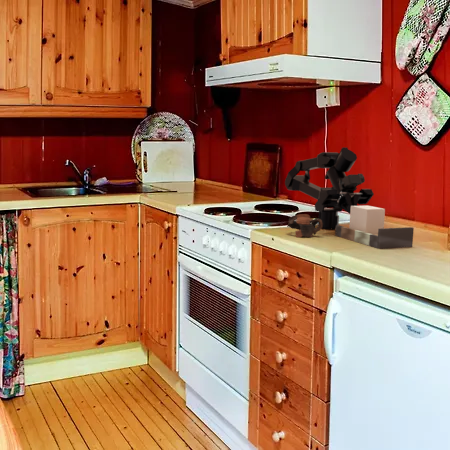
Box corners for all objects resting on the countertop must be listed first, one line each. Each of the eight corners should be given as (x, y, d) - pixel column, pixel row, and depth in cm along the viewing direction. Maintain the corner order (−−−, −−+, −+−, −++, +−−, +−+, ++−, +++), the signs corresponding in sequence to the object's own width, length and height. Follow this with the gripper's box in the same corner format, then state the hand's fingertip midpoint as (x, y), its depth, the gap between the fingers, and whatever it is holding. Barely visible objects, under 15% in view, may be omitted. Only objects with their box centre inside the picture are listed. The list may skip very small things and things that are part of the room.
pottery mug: (287, 238, 205) (283, 215, 208) (292, 247, 214) (289, 224, 217) (323, 231, 202) (319, 208, 205) (327, 240, 211) (323, 217, 214)
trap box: (335, 235, 211) (336, 217, 210) (365, 234, 216) (366, 216, 215) (379, 248, 189) (380, 229, 189) (412, 246, 194) (413, 227, 193)
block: (349, 229, 208) (350, 205, 207) (366, 229, 211) (368, 205, 210) (365, 234, 200) (367, 209, 199) (383, 233, 203) (385, 208, 202)
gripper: (326, 165, 209) (343, 201, 201) (372, 165, 217) (390, 200, 208) (312, 186, 218) (328, 222, 209) (357, 186, 225) (374, 221, 216)
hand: (356, 216), depth 211 cm, fingers closed
